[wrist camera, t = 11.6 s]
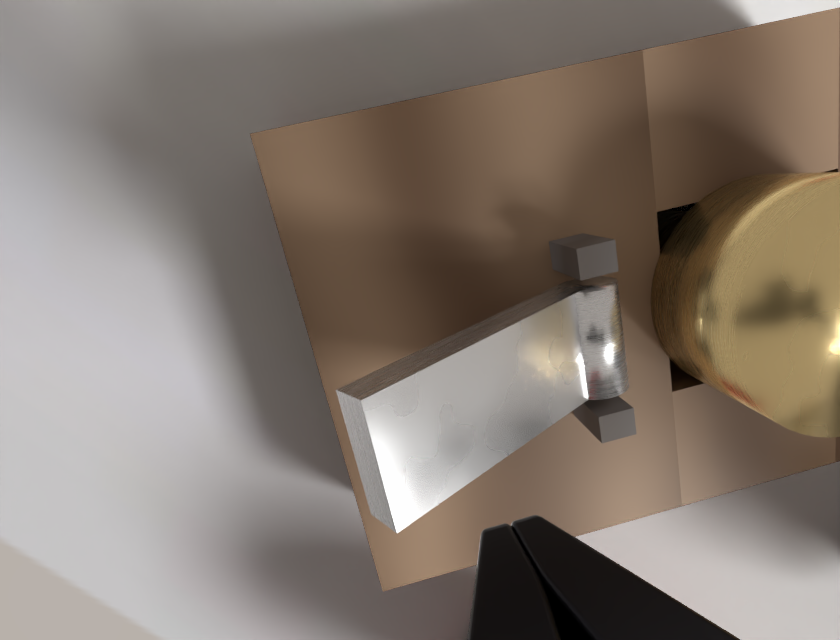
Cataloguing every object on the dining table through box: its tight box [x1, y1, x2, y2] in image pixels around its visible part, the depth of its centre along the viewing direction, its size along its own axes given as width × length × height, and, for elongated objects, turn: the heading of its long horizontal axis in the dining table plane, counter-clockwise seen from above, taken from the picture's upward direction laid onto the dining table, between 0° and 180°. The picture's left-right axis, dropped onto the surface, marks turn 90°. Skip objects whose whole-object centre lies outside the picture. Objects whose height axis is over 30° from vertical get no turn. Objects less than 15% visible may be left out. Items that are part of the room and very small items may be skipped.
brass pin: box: [651, 172, 840, 438], centre depth 16 cm, size 6×6×8 cm
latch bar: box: [336, 276, 629, 533], centre depth 12 cm, size 8×3×2 cm, turn 102°
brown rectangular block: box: [250, 8, 840, 591], centre depth 17 cm, size 18×14×7 cm
